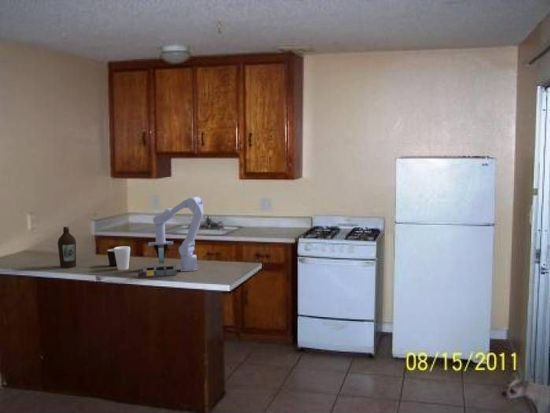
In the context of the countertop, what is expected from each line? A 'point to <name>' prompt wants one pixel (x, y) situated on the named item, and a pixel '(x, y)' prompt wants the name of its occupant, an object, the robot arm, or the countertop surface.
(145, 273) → the rack
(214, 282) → the countertop surface
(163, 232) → the robot arm
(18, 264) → the countertop surface
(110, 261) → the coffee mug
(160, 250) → the panel
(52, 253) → the countertop surface
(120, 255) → the foam cup
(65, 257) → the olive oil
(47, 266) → the countertop surface
